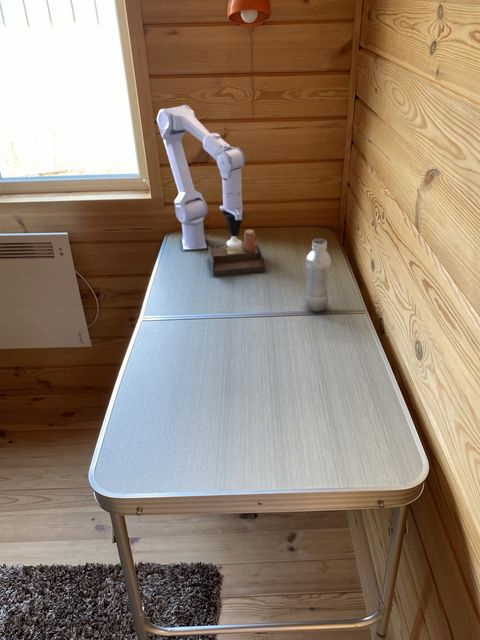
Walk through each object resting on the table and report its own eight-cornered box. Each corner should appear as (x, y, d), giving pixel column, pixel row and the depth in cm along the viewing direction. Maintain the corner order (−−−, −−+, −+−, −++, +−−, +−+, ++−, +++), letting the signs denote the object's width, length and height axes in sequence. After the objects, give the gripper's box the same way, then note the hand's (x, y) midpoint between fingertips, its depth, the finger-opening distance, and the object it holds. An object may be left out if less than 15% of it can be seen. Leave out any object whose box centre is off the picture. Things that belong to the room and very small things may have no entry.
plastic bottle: (326, 315, 141) (331, 247, 129) (302, 313, 142) (305, 245, 130) (328, 304, 146) (334, 237, 134) (305, 301, 147) (308, 235, 135)
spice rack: (209, 260, 170) (208, 246, 167) (257, 256, 172) (257, 242, 169) (213, 276, 160) (212, 261, 157) (264, 272, 162) (264, 257, 160)
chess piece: (242, 241, 167) (241, 211, 161) (241, 247, 163) (240, 216, 157) (226, 241, 167) (225, 211, 161) (226, 247, 163) (224, 216, 157)
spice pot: (243, 247, 168) (242, 229, 165) (254, 246, 169) (254, 228, 165) (245, 252, 165) (244, 233, 162) (256, 251, 166) (255, 233, 162)
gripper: (213, 185, 160) (216, 227, 168) (225, 200, 149) (227, 244, 156) (235, 183, 162) (237, 224, 169) (248, 198, 150) (249, 241, 158)
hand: (233, 234), depth 163 cm, fingers closed on chess piece
